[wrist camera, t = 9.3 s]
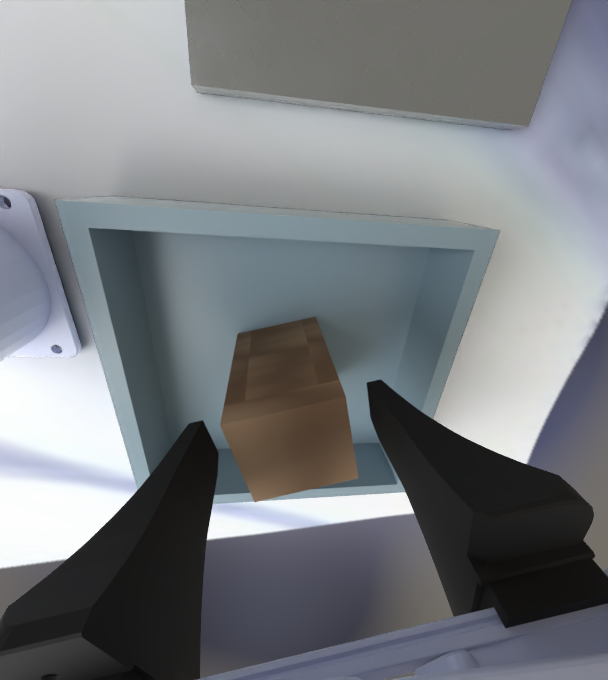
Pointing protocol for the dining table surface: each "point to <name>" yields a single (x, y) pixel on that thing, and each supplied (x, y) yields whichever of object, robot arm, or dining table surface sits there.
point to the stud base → (380, 55)
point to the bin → (266, 312)
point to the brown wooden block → (287, 412)
